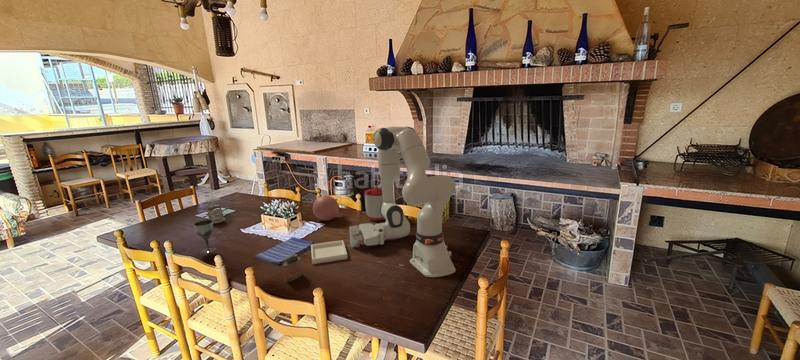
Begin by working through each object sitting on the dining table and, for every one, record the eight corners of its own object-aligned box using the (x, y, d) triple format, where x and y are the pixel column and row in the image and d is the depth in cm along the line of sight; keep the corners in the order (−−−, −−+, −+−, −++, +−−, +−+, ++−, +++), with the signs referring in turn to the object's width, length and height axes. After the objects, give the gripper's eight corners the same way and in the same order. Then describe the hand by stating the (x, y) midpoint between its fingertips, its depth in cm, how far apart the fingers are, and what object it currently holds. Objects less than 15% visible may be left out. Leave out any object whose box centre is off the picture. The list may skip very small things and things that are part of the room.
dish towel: (316, 246, 172) (315, 241, 171) (279, 266, 152) (278, 261, 152) (292, 239, 180) (292, 234, 180) (254, 258, 161) (253, 253, 160)
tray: (347, 258, 157) (347, 254, 156) (312, 264, 153) (311, 259, 152) (343, 244, 172) (343, 240, 171) (311, 249, 168) (310, 244, 167)
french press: (209, 218, 213) (202, 180, 206) (229, 216, 216) (223, 179, 210) (205, 224, 204) (198, 184, 197) (226, 221, 207) (220, 182, 201)
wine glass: (197, 255, 165) (191, 226, 161) (202, 248, 172) (196, 220, 168) (215, 252, 167) (210, 224, 163) (219, 245, 174) (214, 218, 170)
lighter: (299, 272, 146) (297, 251, 144) (304, 274, 144) (301, 253, 142) (283, 280, 140) (280, 258, 138) (287, 282, 138) (284, 261, 136)
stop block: (359, 246, 169) (358, 228, 166) (351, 247, 168) (350, 229, 165) (358, 243, 173) (357, 225, 170) (350, 244, 172) (349, 226, 169)
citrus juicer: (397, 219, 203) (396, 188, 198) (369, 224, 197) (368, 191, 192) (388, 211, 217) (387, 181, 212) (362, 215, 211) (360, 185, 206)
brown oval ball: (348, 215, 213) (347, 191, 209) (329, 226, 196) (326, 201, 192) (329, 211, 220) (327, 189, 216) (308, 222, 203) (306, 198, 199)
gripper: (374, 219, 181) (349, 222, 178) (383, 233, 162) (355, 237, 159) (375, 230, 183) (350, 233, 179) (384, 245, 164) (356, 250, 160)
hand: (352, 235), depth 169 cm, fingers closed on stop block, 4 cm apart
